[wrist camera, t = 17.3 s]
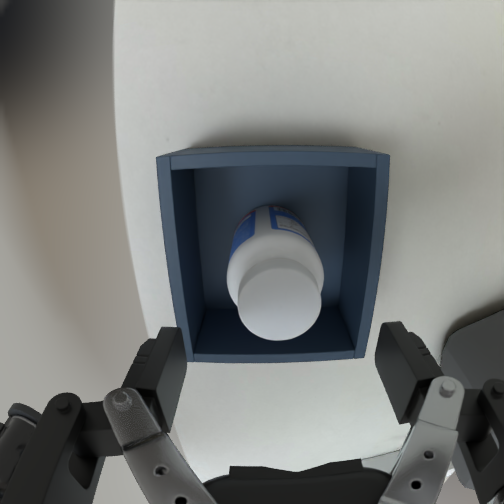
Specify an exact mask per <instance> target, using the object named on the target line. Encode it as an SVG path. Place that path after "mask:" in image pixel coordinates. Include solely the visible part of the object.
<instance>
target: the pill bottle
mask: <svg viewBox="0 0 504 504" xmlns="http://www.w3.org/2000/svg"><path fill="white" fill-rule="evenodd" d="M323 282H324V270H323V266H322V263H321V260H320V258H319V255H318V253H317V251H316V249H315V247H314V245H313V243H312V241H311V239H310V237H309V235H308V233H307V231H306V229H305V227H304V225H303V223H302V221H301V220H300V219H299V218H298V217H297V216H296V215H295V214H294V213H292V212H291V211H289V210H287V209H285V208H282V207H279V206H262V207H258V208H256V209H254V210H252V211H250V212H249V213H247V214H246V215H245V216H244V217H243V218H242V219H241V221H240V222H239V224H238V225H237V228H236V230H235V233H234V237H233V242H232V248H231V253H230V258H229V264H228V270H227V286H228V290H229V293H230V296H231V298H232V300H233V301H234V303H235V304H236V305H237V307H238V313H239V316H240V318H241V321H242V322H243V324H244V325H245V326H246V327H247V329H248V330H249V331H251V332H252V333H253V334H255V335H257V336H259V337H261V338H264V339H268V340H277V341H278V340H288V339H292V338H294V337H297V336H299V335H301V334H303V333H304V332H306V331H307V330H308V329H309V328H310V327H311V326H312V325H313V324H314V323H315V321H316V320H317V318H318V316H319V313H320V310H321V295H320V293H321V291H322V287H323Z"/></svg>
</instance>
